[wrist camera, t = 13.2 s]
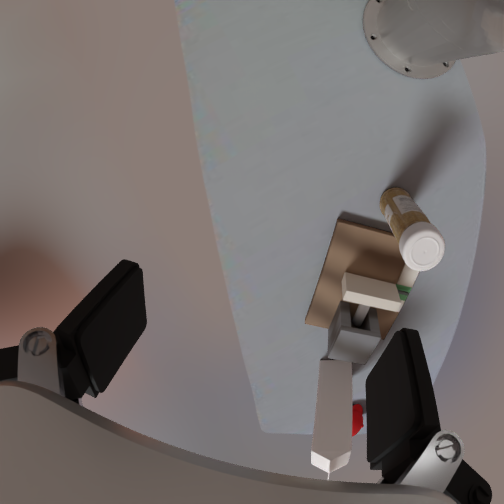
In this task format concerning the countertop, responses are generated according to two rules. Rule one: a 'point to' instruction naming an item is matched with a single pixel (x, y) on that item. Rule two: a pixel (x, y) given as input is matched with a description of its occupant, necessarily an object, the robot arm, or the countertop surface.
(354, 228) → the gauge frame
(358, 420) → the cap
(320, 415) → the milk
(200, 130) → the countertop surface
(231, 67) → the countertop surface
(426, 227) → the sprinkles bottle
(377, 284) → the spring plunger
